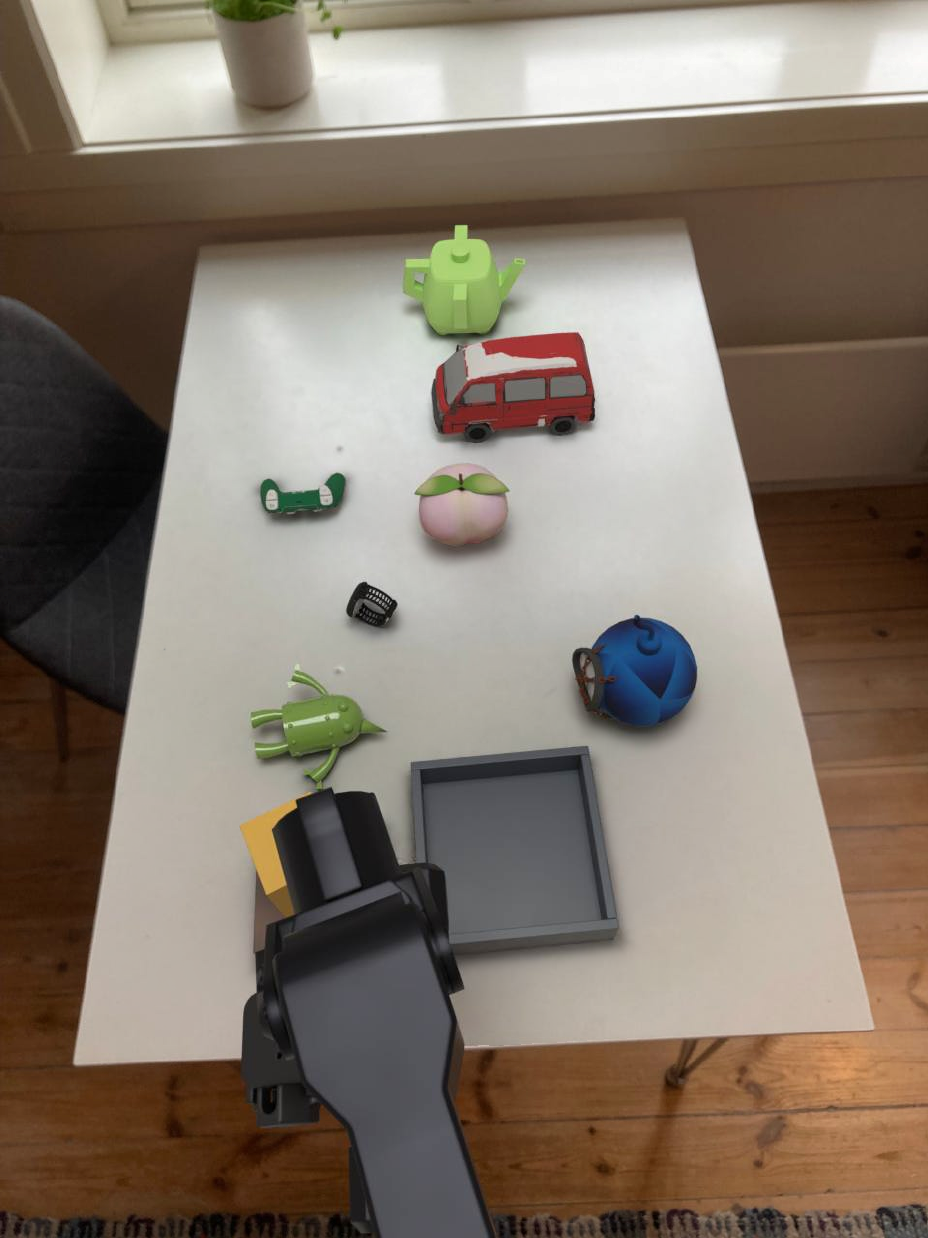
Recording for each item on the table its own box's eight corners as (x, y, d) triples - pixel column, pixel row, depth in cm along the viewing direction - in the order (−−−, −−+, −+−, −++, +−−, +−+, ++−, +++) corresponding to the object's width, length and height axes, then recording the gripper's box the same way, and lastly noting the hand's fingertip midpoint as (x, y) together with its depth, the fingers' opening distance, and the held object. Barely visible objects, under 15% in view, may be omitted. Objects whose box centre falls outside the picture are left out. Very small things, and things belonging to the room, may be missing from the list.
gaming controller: (266, 512, 102) (257, 519, 96) (262, 478, 101) (251, 483, 95) (349, 505, 102) (344, 512, 96) (345, 470, 101) (339, 475, 95)
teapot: (462, 361, 110) (459, 295, 102) (398, 318, 115) (390, 251, 107) (528, 313, 115) (530, 245, 106) (463, 273, 119) (460, 205, 111)
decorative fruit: (500, 497, 99) (499, 433, 91) (513, 557, 95) (515, 496, 87) (415, 509, 99) (406, 447, 90) (425, 571, 95) (417, 511, 86)
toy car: (433, 391, 108) (427, 324, 100) (589, 387, 107) (596, 319, 99) (432, 448, 103) (425, 383, 95) (594, 445, 103) (602, 379, 94)
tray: (613, 940, 75) (619, 928, 71) (424, 958, 75) (420, 947, 71) (584, 763, 83) (588, 745, 79) (414, 779, 83) (410, 761, 79)
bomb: (559, 664, 88) (569, 578, 75) (667, 642, 89) (694, 553, 76) (588, 756, 83) (603, 680, 70) (701, 731, 84) (737, 652, 71)
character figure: (237, 672, 81) (370, 645, 82) (248, 676, 86) (373, 651, 87) (261, 802, 79) (395, 773, 80) (270, 799, 85) (397, 772, 85)
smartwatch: (371, 594, 93) (365, 566, 89) (405, 624, 91) (400, 597, 87) (341, 618, 92) (333, 591, 88) (374, 649, 90) (368, 623, 86)
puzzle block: (361, 898, 73) (340, 858, 64) (297, 931, 72) (266, 895, 63) (334, 838, 76) (311, 791, 67) (272, 869, 75) (239, 825, 65)
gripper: (237, 847, 51) (293, 914, 64) (219, 1255, 41) (288, 1233, 54) (437, 829, 51) (450, 899, 64) (465, 1231, 41) (474, 1215, 54)
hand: (414, 1049), depth 59 cm, fingers open, 9 cm apart
